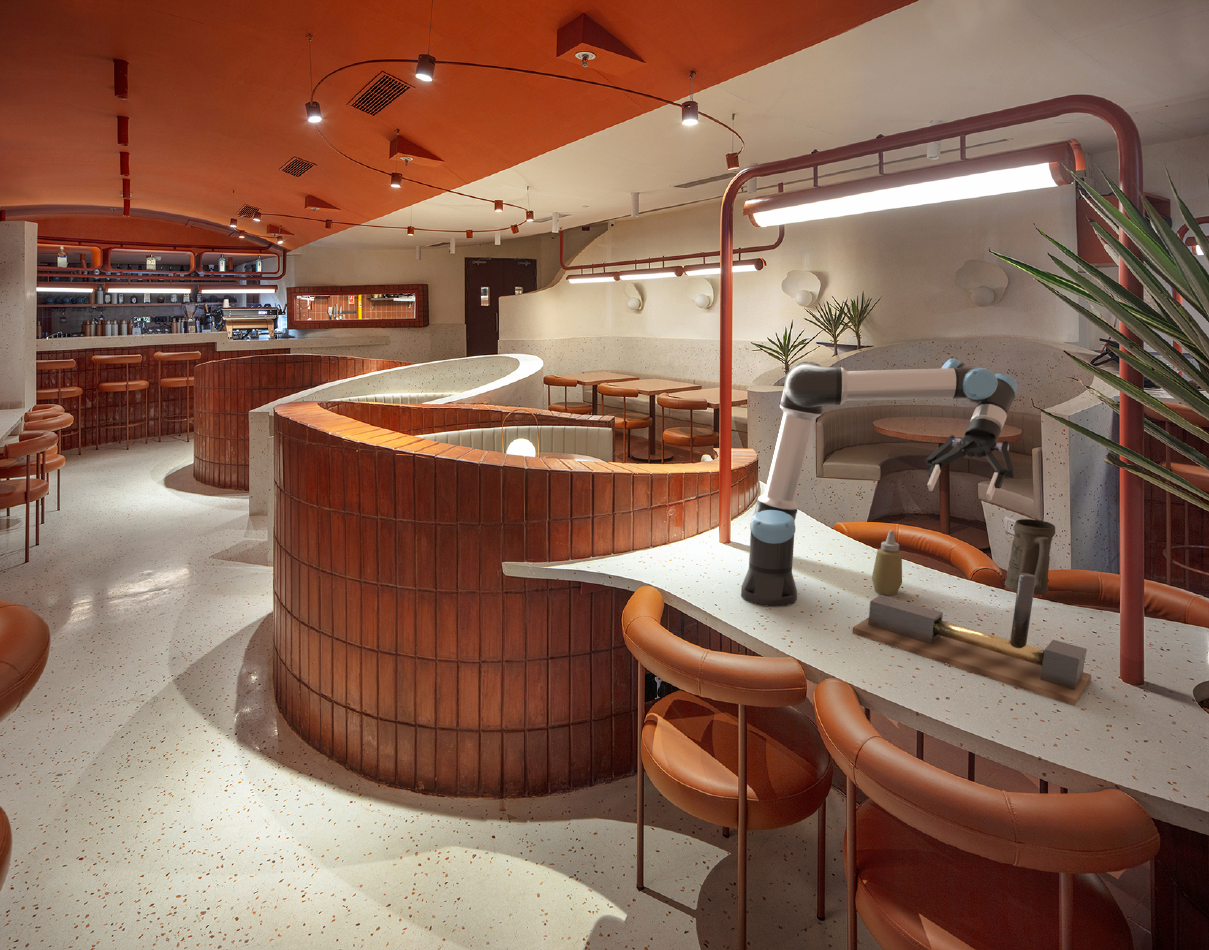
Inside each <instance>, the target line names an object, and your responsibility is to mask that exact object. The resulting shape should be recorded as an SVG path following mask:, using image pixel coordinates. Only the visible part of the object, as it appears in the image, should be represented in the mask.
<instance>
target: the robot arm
mask: <svg viewBox="0 0 1209 950" xmlns="http://www.w3.org/2000/svg"><path fill="white" fill-rule="evenodd" d="M783 384H784V386H783V390H782V396H781V400H780V402H779V403H780V404H779V407H780V409H781V411H782V413H783V414H782V419H781V421H780V422H781V423H780V427H779V431H778V435H777V440H776V442H775V443H776V444H775V448H774V453H773V456H772V461H771V465H770V467H769V473H768V478H767V481H766V486H765V490H764V493H763V494H761V495H759V496H758V498H757V501H756V505H755V510H754V513H753V514H752V517H751V520H750V521H751V522H750V526H749V527H750V528H749V529H750V538H749V539H750V540H749V541H750V542H749V555H748V556H749V559H748V569H747V572H746V575H745V577H744V579H743V582H742V584H741V588H740V589H741V590H740V593H741V598H743V599H744V600H746V601H748V602H749V603H752V604H755V605H759V606H763V607H770V608H771V607H774V608H776V607H787V606H790V605H793V604H795V603H796V601H797V599H798V590H797V585H796V581H795V578H794V574H793V564H794V563H793V560H794V546H795V543H794V542H795V533H796V517H797V513H798V509H799V506H798V504H797V502H796V501H795V499H796V494H797V490H798V486H799V483H800V478H801V474H802V470H803V467H804V462H805V458H806V455H807V451H808V445H809V443H810V439H811V435H812V430H813V427H814V422H815V420H816V419H817V418H819V417H820V416H822V413H823V409H824V407H826V406H842V405H843V404H844V403H845V402H846V401H847V402H848V401H850V402H851V401H855V402H856V401H882V400H883V401H892V400H895V401H896V400H940V399H943V400H944V399H953V400H954V399H957V400H958V399H966V400H968V401H970V402H971V403H974V404H975V405H976V406H975V409H974V411H973V414H972V416H971V418H970V421H969V424H968V425H967V427H966V430H965V433H964V435H963V436H962V438H958V437H955V435H952V434H951V435H950V436H949V437H948V439H947V441H945V442H944V443H943V444H942V445H940V446H939V447H938V448H937V449H936V450H934V451H933V452H932V453H931V454H930V455H928V456H927V457H926V458H925V462H926V465H927V467H928V468H930V469H929V470H928V473H927V475H928V482H927V484H926V485H927V488H928V491H929V492H933V490H934V488H935V486H936V484H937V481H938V478H939V477H940V475H941V472H942V470H941V468H943V467H945V466H947V465H948V464H950V463H952V462H954V461H956V460H958V459H960V458H961V459H962V458H964V457H966V456H967V457H971V458H972V457H974V458H975V457H976V458H980V459H981V458H984V457H985V459H986V460H987V462H989V464H990V466H991V467H992V468H993V470H994V473H993V475H992V478H991V480H990V483H989V485H988V488H987V490H986V493H985V494H986V495H985V496H986V499H987V501H992V499H993V497H994V494H995V491H996V489H1001V488H1002V486H1003V484H1004V481H1005V478H1010V479H1013V478H1014V477H1015V478H1016V475H1015V471H1014V466H1013V463H1012V461H1011V457H1010V453H1009V451H1010V445H1009V441H1008V440H1004V441H1002V442H998V440H999V438H1000V435H1001V432H1002V429H1003V427H1004V425H1005V423H1006V421H1007V418H1008V415H1009V412H1010V409H1011V407H1012V405H1013V403H1014V401H1015V400H1016V395H1017V392H1018V387H1019V385H1018V382H1017V381H1016V379H1015V377H1012V376H1011V375H1009V374H1003V373H995V372H993V371H992V370H990V369H989V368H985V367H982V366H981V367H980V366H979V367H976V366H971V365H968V364H967V363H964V362H963V361H961V360H958V359H956V358H950V359H948V360H947V361H945V363H944V364H943V365H942V366H941V368H914V369H913V368H911V369H906V368H905V369H874V370H873V369H871V370H846V369H844V367H841V366H839V367H837V366H836V367H830V366H822V365H820V364H818V363H816V362H812V361H803V362H799V363H797V364H795V365H793V366H792V367H791V368H790V369H789V370H788V372H787V373H786V375H785V378H784V383H783ZM997 449H998V451H999V452H1000V453H1002V458H1003V461H1004V464H1005V467H1006V469H1005V468H1003V466H1002V465H1001V464H1000V462H999V460H998V459H997V458H996V456H995V455H994V454H993V453H992V452H994V451H995V450H997Z"/></svg>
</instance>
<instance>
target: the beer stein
mask: <svg viewBox="0 0 1209 950" xmlns="http://www.w3.org/2000/svg"><path fill="white" fill-rule="evenodd" d="M1013 531H1014V536H1013V540H1012V542H1011V543H1012V545H1011V553H1010V558H1009V560H1008V568H1007V572H1006V579H1005V581H1004V586H1005V587H1006V588H1008V589H1009V590H1012V591H1014V592H1016V593H1017V588H1018V580H1019V574H1020V573H1027V574H1032V575H1034V576H1036V580H1035V587H1034V594H1033V596H1038V595H1039V596H1040V595H1045V594H1048V593H1049V586H1048V585H1049V582H1050V580H1049V569H1050V561H1051V559H1050V558H1051V556H1050V554H1051V553H1050V552H1051V548H1052V547H1051V545H1052V541H1053V537H1054V536H1055V535H1056V526H1055V524H1053V523H1050V522H1049V521H1045V520H1040V519H1031V518H1022V519H1021V518H1020V519H1017V520H1016V521H1015V523H1014V526H1013Z"/></svg>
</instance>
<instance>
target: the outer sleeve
mask: <svg viewBox="0 0 1209 950" xmlns="http://www.w3.org/2000/svg"><path fill="white" fill-rule="evenodd" d="M943 616H944V612H943V611H940V610H937V609H933V608H928V607H925V606H921V605H918V604H914V603H911V602H907V601H904V600H900V599H896V598H893V597H889V596H885V595H883V594H879V595H878V596H876V597H874V598H873V599H871V600H870V601H869V612H868V617H869V621H868V625H870V626H873V627H876V628H880V629H883V630H886V631H889V632H892V633H896V634H899V635H902V636H905V637H908V638H912V639H915V640H918V641H921V642H925V643H928V644H933V643H934V642H935V641H936V640H937V639H939V638H940V635H937V634H934V626H935V621H936V620H941V621H943Z"/></svg>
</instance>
